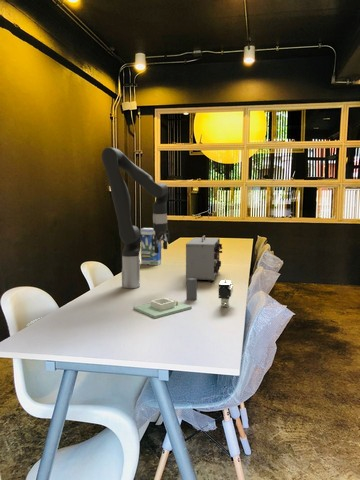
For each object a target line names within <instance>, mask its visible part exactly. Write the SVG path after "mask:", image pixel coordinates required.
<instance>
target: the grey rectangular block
mask: <svg viewBox="0 0 360 480" xmlns="http://www.w3.org/2000/svg"><path fill="white" fill-rule="evenodd" d="M185 280H186V294H185V296H186V300H188V301H195V300H197V298H198V296H197V295H198V294H197V293H198V292H197V291H198V287H197V285H198V279H195V278H188V279H186V278H185Z"/></svg>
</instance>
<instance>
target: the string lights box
mask: <svg viewBox="0 0 360 480" xmlns="http://www.w3.org/2000/svg"><path fill="white" fill-rule="evenodd" d="M140 234H141V248H140V255H141V256H140V261H141V264H140V265H147V264H149V265H151V266H160V265H161V264H162V241H161V242H160V243H159V246H158V247H159V253H158V254H157V253H155V250H154V246H152V235H155V231H154V230H153V227H142V228H141V229H140ZM157 241H158V240H157Z"/></svg>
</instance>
